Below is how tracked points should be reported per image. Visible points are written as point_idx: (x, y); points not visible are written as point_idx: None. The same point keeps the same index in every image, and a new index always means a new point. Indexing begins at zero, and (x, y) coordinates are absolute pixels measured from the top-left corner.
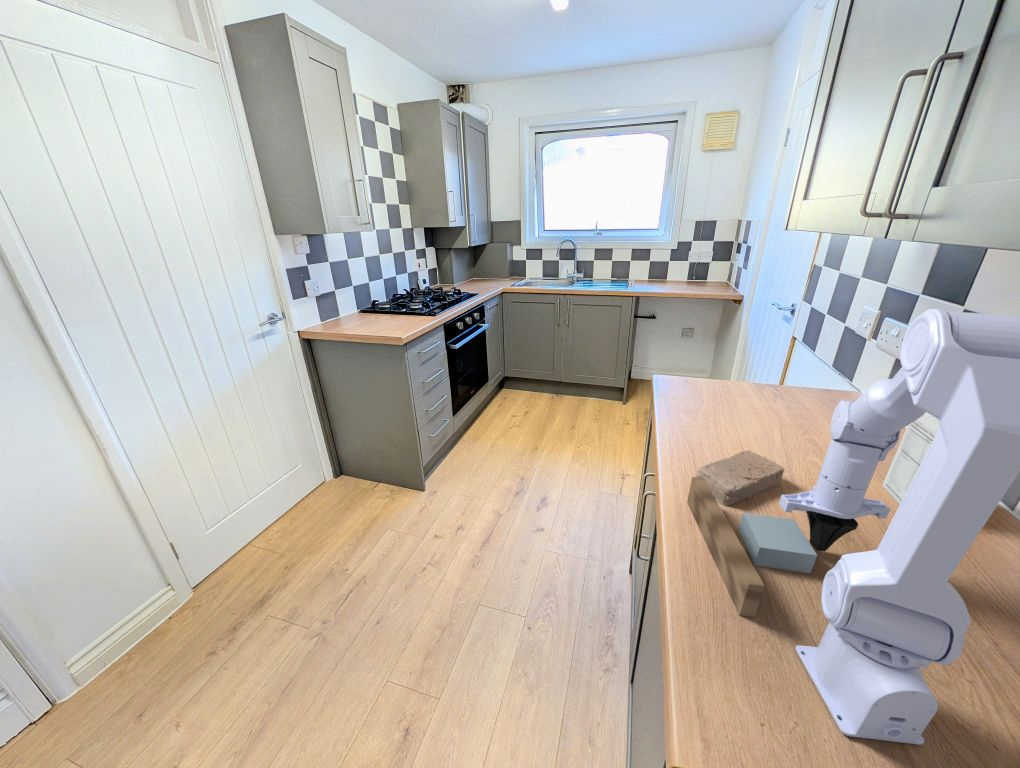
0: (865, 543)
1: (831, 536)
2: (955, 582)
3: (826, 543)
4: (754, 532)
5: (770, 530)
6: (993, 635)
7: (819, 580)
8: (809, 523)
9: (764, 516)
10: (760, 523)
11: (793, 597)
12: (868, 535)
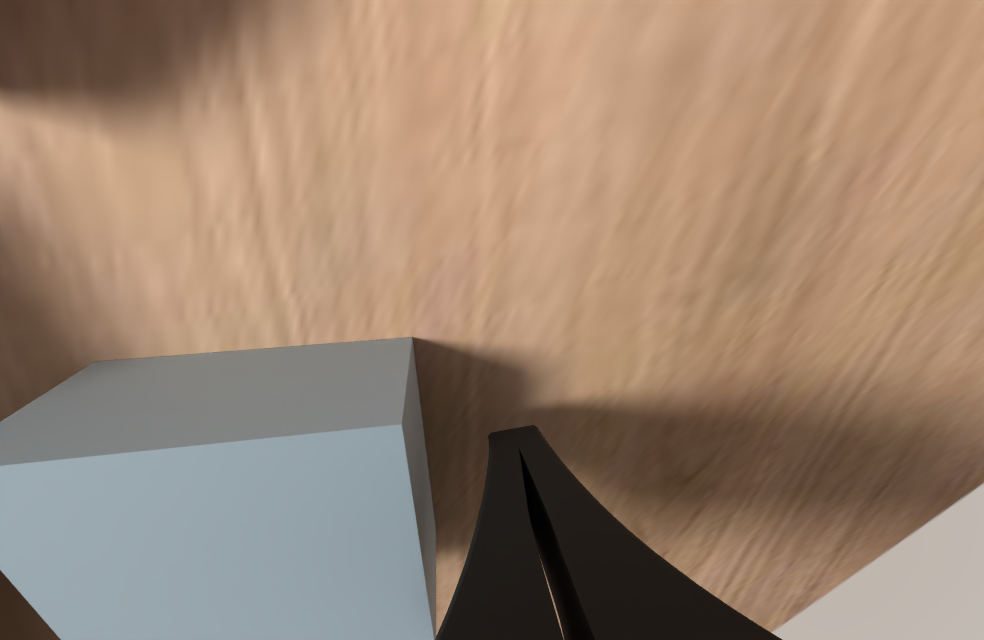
0: (810, 285)
1: (561, 626)
2: (954, 419)
3: (537, 547)
4: (71, 631)
5: (190, 581)
6: (836, 567)
7: (457, 551)
8: (473, 541)
9: (138, 463)
10: (109, 544)
11: None
12: (887, 209)
